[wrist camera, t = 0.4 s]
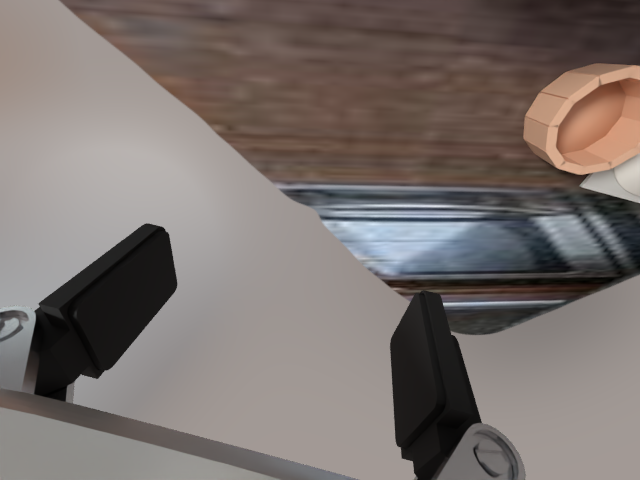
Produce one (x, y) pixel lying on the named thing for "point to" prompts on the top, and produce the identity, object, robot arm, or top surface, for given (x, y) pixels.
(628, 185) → the lid
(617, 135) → the bowl
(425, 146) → the top surface
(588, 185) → the mat
